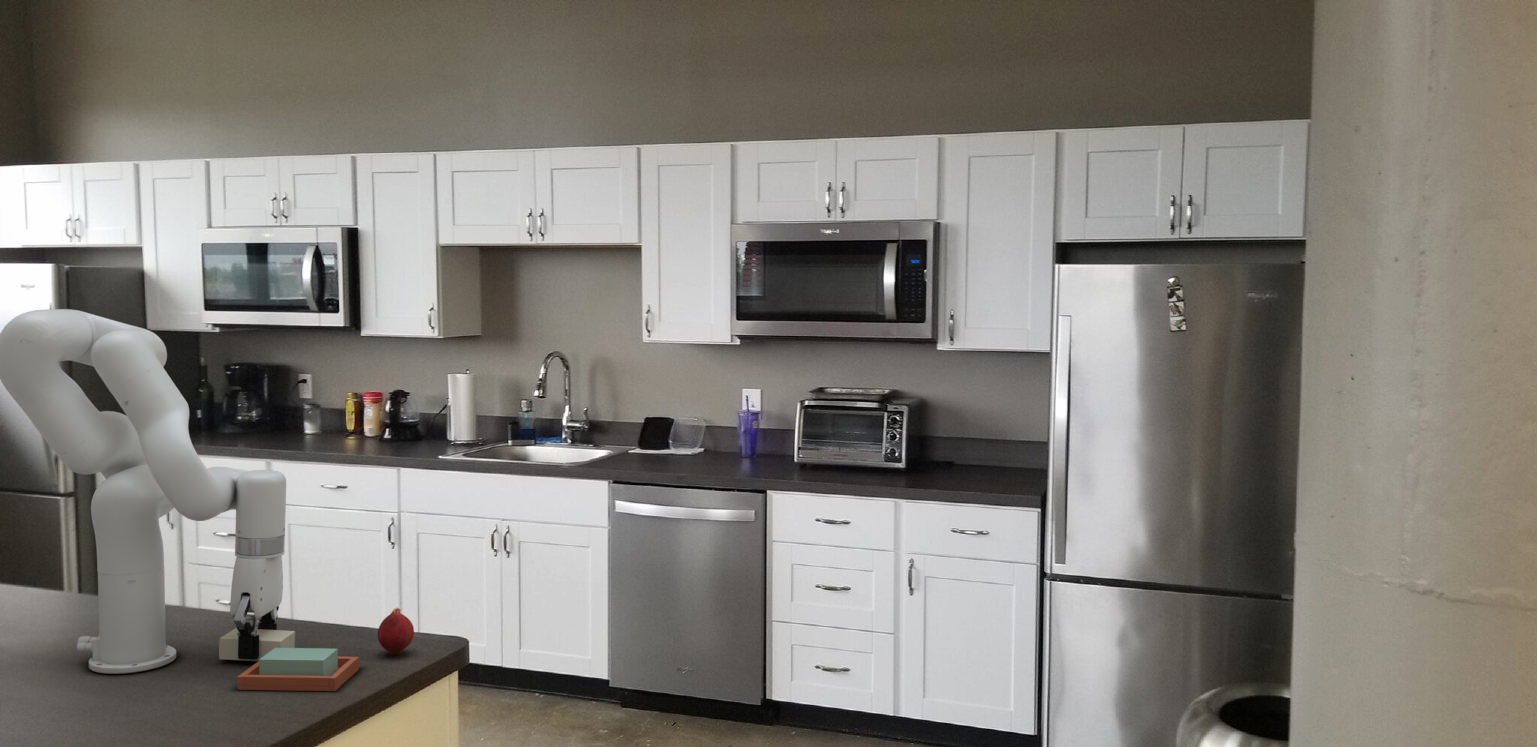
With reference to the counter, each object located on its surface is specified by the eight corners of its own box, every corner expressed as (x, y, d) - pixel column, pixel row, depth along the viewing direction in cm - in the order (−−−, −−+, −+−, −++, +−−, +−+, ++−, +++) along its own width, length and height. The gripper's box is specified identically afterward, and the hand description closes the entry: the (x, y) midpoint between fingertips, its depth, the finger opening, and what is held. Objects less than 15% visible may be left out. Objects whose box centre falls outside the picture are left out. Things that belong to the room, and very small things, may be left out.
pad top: (218, 659, 189) (219, 638, 189) (235, 648, 195) (235, 627, 195) (279, 662, 189) (280, 641, 189) (294, 651, 195) (295, 630, 195)
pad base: (259, 681, 180) (258, 659, 179) (275, 668, 186) (275, 647, 185) (323, 682, 180) (323, 660, 179) (338, 669, 186) (337, 648, 185)
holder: (237, 689, 177) (237, 676, 177) (266, 667, 188) (266, 655, 188) (335, 691, 178) (335, 677, 177) (359, 669, 188) (359, 656, 188)
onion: (402, 661, 192) (402, 613, 192) (371, 658, 193) (370, 611, 193) (420, 650, 198) (419, 604, 197) (389, 648, 199) (388, 602, 199)
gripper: (259, 533, 200) (257, 636, 201) (212, 555, 183) (210, 667, 184) (303, 536, 200) (300, 638, 201) (260, 558, 183) (257, 669, 184)
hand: (257, 651), depth 192 cm, fingers closed on pad top, 6 cm apart
